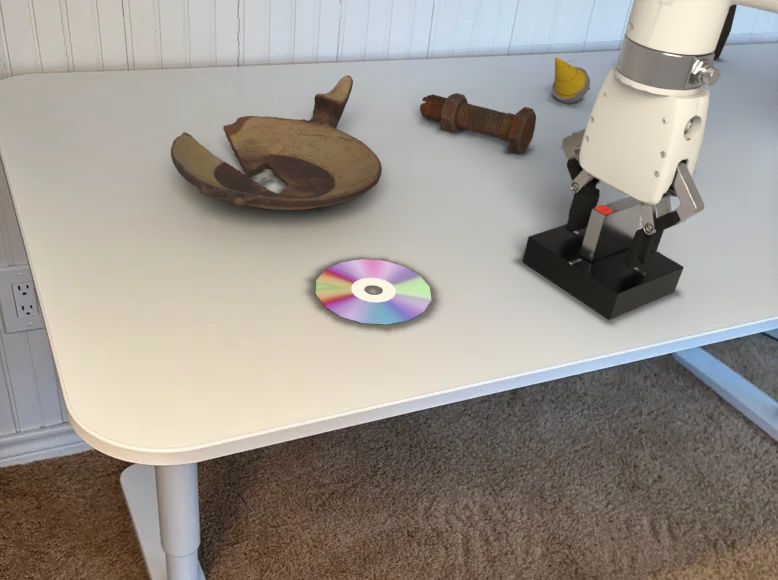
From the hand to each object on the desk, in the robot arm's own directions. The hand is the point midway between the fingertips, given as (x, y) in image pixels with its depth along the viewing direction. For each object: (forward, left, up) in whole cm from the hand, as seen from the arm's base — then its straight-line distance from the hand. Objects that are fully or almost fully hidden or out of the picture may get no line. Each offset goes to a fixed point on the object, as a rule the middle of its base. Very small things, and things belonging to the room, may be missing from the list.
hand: (607, 244), depth 82 cm
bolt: (+33, -12, -4) cm, 35 cm away
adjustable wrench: (+40, -63, -4) cm, 75 cm away
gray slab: (0, 0, -1) cm, 1 cm away
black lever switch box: (0, 0, -4) cm, 4 cm away
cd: (+9, +22, -4) cm, 24 cm away
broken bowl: (+31, +17, -4) cm, 35 cm away
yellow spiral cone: (+36, -33, -4) cm, 49 cm away
